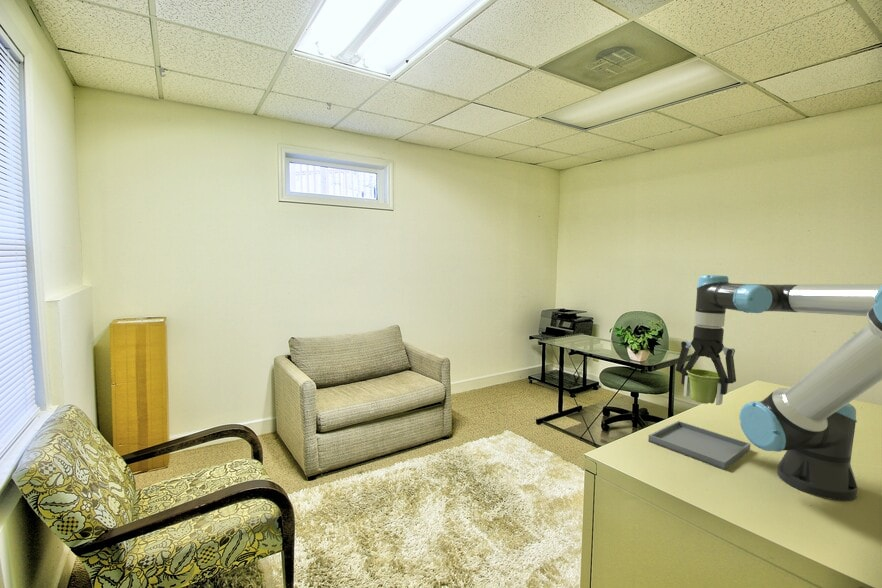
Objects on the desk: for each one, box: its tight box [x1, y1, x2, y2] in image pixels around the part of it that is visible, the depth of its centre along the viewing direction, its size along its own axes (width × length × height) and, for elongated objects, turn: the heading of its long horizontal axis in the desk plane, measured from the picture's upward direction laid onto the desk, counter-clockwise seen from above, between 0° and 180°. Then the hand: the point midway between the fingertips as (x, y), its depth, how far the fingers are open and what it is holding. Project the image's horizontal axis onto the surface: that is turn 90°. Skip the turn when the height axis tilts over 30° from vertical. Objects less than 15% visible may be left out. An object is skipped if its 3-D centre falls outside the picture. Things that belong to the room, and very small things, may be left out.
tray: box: [647, 420, 752, 471], centre depth 125 cm, size 21×21×2 cm
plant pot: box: [687, 368, 721, 405], centre depth 123 cm, size 9×9×9 cm
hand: (702, 399), depth 124 cm, fingers closed on plant pot, 8 cm apart
